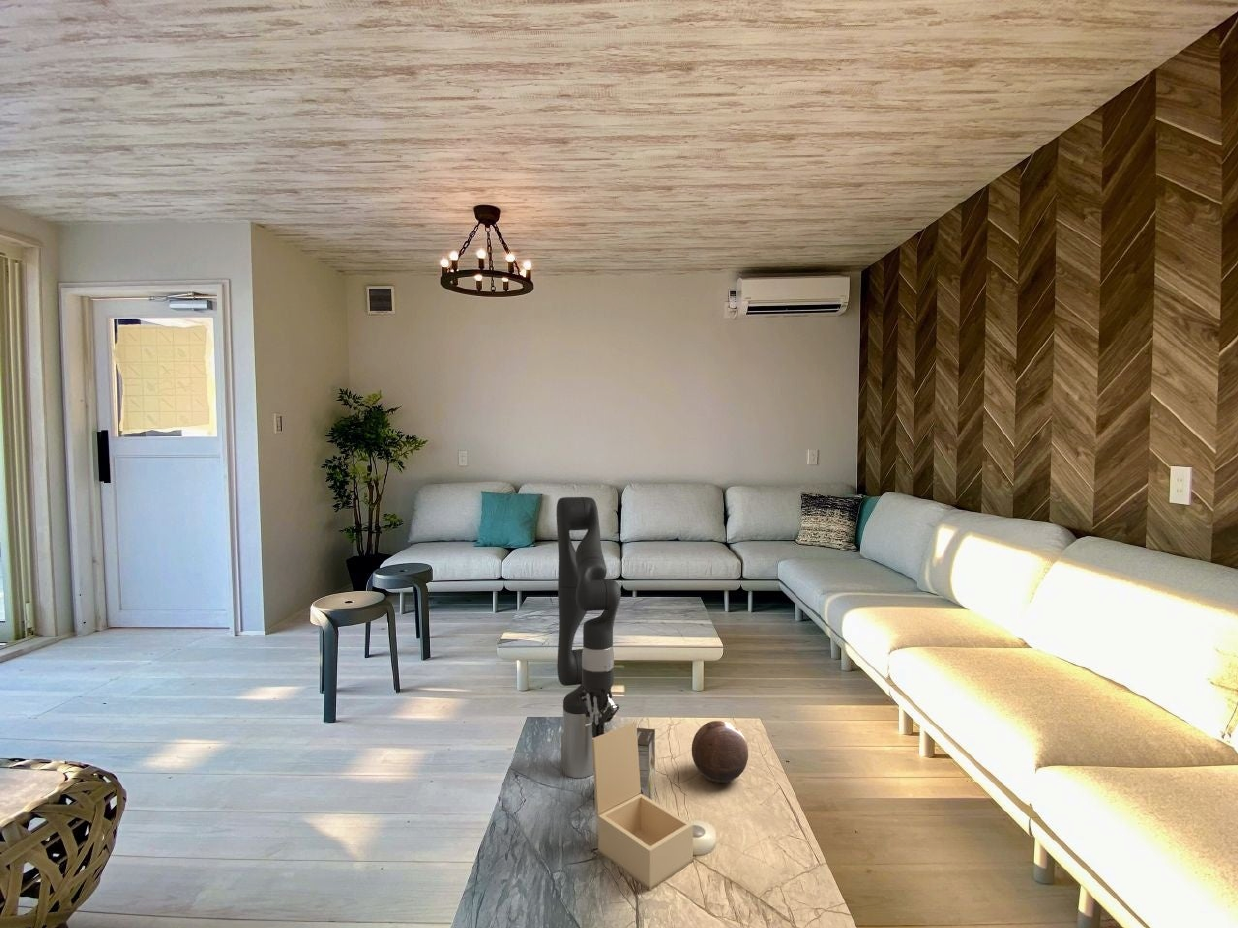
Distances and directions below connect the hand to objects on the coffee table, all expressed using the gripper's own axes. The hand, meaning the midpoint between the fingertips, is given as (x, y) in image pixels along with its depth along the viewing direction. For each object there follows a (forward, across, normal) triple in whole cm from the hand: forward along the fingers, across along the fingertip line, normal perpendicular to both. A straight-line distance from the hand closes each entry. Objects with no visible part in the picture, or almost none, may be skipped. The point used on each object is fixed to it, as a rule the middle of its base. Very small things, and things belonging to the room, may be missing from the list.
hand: (597, 737), depth 143 cm
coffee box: (+20, -1, +15) cm, 25 cm away
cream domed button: (+20, +20, +12) cm, 31 cm away
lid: (+4, +7, 0) cm, 8 cm away
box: (+20, +16, 0) cm, 26 cm away
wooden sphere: (+20, +6, +37) cm, 43 cm away
